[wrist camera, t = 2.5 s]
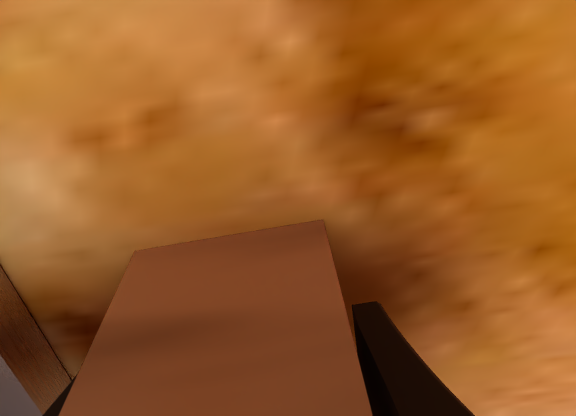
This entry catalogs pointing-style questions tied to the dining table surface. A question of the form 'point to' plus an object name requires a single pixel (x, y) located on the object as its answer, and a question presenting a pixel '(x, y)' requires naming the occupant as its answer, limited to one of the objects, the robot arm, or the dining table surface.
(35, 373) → the press frame
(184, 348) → the block
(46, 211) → the dining table surface
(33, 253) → the dining table surface
